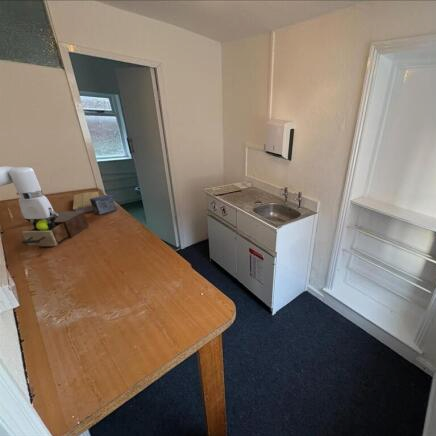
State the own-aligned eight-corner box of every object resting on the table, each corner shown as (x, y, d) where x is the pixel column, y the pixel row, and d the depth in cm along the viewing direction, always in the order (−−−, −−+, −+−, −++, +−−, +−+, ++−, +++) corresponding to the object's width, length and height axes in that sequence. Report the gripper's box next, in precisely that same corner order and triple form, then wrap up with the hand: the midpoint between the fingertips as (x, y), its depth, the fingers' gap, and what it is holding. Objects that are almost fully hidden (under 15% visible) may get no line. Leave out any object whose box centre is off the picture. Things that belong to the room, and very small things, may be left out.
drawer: (48, 250, 108) (41, 236, 105) (19, 252, 106) (12, 237, 103) (74, 233, 125) (70, 220, 122) (50, 233, 123) (44, 220, 120)
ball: (37, 234, 110) (33, 223, 108) (39, 229, 114) (34, 219, 112) (54, 231, 114) (49, 220, 112) (55, 227, 118) (50, 216, 115)
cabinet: (71, 238, 122) (65, 221, 118) (43, 239, 120) (36, 222, 116) (89, 226, 135) (84, 210, 131) (64, 226, 133) (58, 211, 129)
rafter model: (102, 209, 158) (100, 201, 155) (74, 214, 149) (71, 205, 147) (99, 196, 182) (97, 188, 180) (75, 199, 173) (72, 191, 171)
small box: (111, 208, 160) (107, 194, 156) (117, 210, 158) (113, 195, 154) (93, 213, 152) (89, 198, 147) (99, 215, 149) (94, 200, 145)
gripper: (1, 197, 102) (19, 234, 109) (46, 196, 105) (60, 232, 112) (17, 192, 109) (32, 227, 116) (58, 192, 111) (71, 226, 119)
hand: (46, 229), depth 114 cm, fingers closed on ball, 5 cm apart
